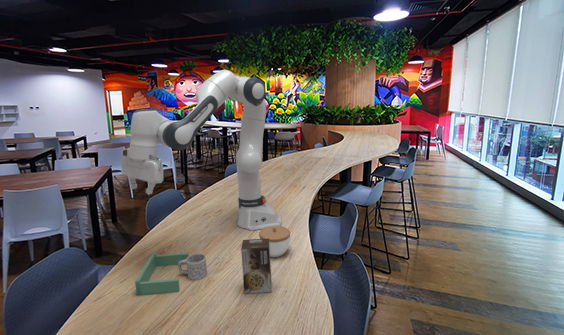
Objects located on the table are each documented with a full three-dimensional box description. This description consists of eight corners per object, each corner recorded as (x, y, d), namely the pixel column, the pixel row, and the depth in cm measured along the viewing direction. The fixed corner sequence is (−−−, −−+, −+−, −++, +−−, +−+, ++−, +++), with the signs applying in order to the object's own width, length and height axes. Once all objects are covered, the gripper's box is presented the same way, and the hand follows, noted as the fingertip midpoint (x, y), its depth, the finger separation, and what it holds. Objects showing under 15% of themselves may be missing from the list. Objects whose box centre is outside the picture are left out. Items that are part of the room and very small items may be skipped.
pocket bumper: (189, 262, 114) (187, 250, 113) (178, 291, 97) (177, 277, 95) (154, 264, 113) (152, 253, 112) (136, 295, 95) (134, 281, 94)
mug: (209, 269, 109) (207, 253, 108) (204, 280, 102) (202, 263, 101) (182, 269, 109) (180, 253, 108) (175, 280, 103) (173, 263, 101)
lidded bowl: (263, 263, 112) (262, 236, 110) (257, 248, 124) (255, 223, 122) (294, 257, 116) (294, 231, 113) (285, 243, 128) (284, 219, 125)
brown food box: (271, 281, 101) (270, 237, 98) (271, 292, 95) (270, 247, 91) (245, 282, 101) (242, 238, 97) (243, 294, 95) (240, 248, 91)
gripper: (169, 157, 103) (166, 195, 105) (134, 150, 114) (133, 184, 115) (153, 158, 98) (150, 198, 100) (118, 150, 108) (117, 186, 110)
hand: (141, 191), depth 108 cm, fingers open, 8 cm apart
